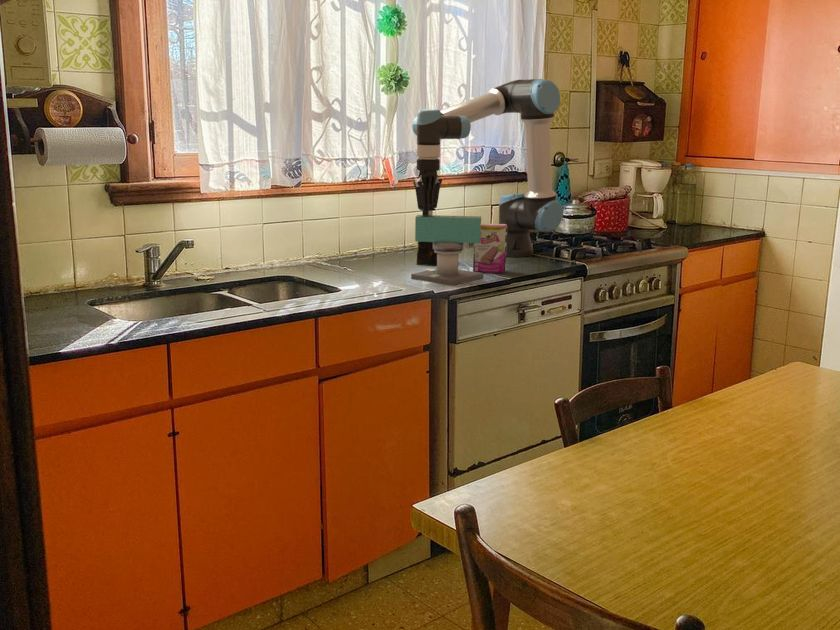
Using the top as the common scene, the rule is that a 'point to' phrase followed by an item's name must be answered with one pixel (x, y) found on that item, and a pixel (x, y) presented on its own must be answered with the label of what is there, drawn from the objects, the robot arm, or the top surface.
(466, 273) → the post base
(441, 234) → the teal boxy piece
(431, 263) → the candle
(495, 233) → the candy bar box
